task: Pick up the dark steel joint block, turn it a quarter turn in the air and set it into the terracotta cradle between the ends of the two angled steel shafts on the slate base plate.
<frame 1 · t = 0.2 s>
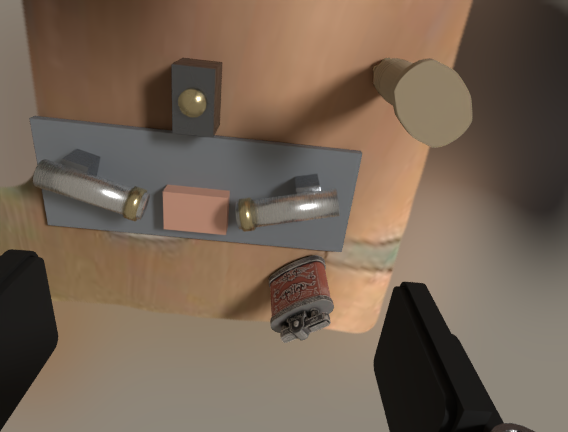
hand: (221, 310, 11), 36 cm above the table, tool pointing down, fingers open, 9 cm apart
base plate: (200, 187, 48), on the table
lighter: (296, 270, 54), on the table
handle: (385, 73, 43), on the table
shaft b: (286, 190, 49), resting on base plate
shaft a: (111, 172, 47), resting on base plate
joint block: (202, 92, 43), on the table
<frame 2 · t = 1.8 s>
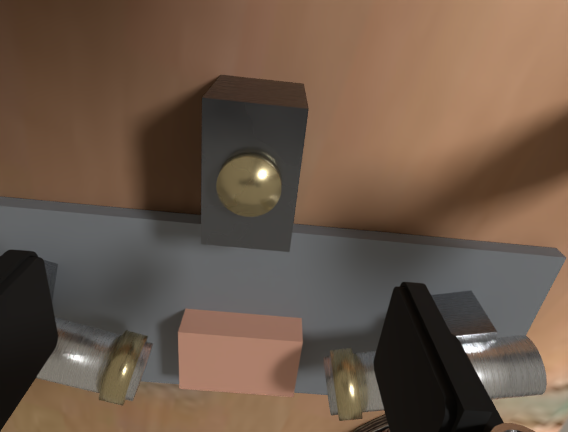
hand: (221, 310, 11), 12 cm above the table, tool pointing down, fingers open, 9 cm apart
base plate: (244, 307, 26), on the table
lighter: (399, 421, 32), on the table
shaft b: (403, 311, 26), resting on base plate
shaft a: (82, 284, 26), resting on base plate
joint block: (257, 143, 21), on the table
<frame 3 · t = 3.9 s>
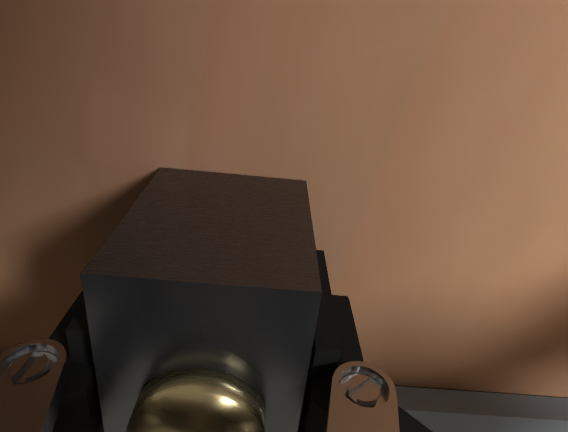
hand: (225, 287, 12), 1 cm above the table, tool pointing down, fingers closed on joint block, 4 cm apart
joint block: (229, 271, 13), on the table, touching gripper
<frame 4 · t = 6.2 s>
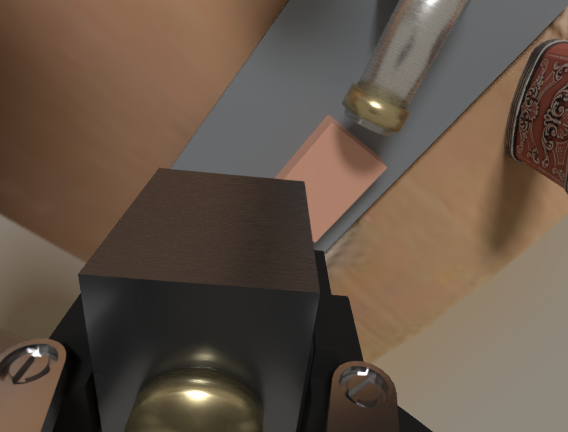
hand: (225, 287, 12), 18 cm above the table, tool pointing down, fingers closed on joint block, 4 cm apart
base plate: (297, 154, 29), on the table
lighter: (534, 102, 28), on the table
shaft b: (393, 21, 25), resting on base plate
joint block: (227, 272, 13), point 17 cm above the table, touching gripper
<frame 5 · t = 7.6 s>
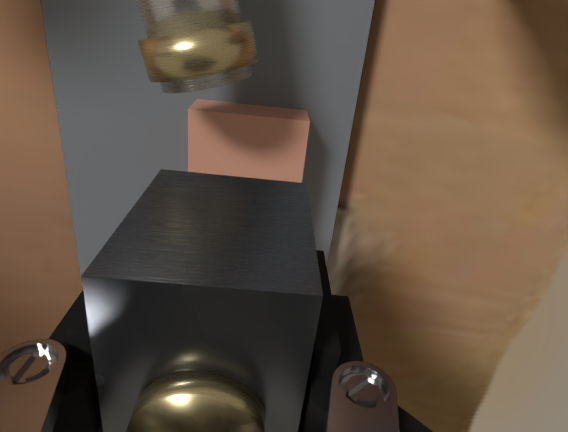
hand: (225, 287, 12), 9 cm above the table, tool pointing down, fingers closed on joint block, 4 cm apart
base plate: (208, 169, 20), on the table
joint block: (228, 273, 13), point 9 cm above the table, touching gripper
when the fingers open (5 cm above the table, at t = 8.8 s): joint block drops 1 cm, resting on base plate.
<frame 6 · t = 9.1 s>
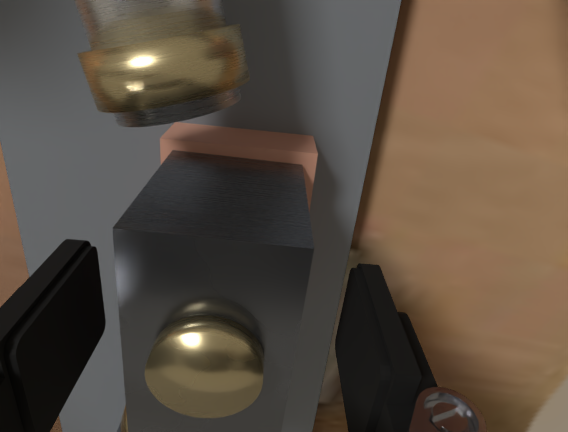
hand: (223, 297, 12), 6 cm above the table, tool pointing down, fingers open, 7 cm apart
base plate: (192, 204, 17), on the table
joint block: (231, 247, 14), point 3 cm above the table, touching base plate
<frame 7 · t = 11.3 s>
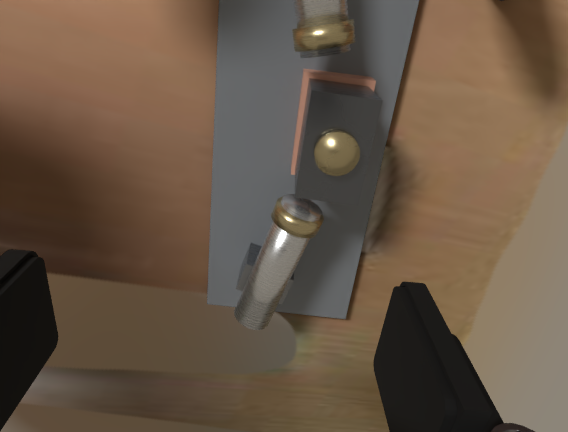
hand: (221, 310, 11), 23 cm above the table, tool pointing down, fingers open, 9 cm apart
base plate: (302, 117, 31), on the table
shaft a: (278, 233, 36), resting on base plate
joint block: (330, 130, 29), point 3 cm above the table, touching base plate
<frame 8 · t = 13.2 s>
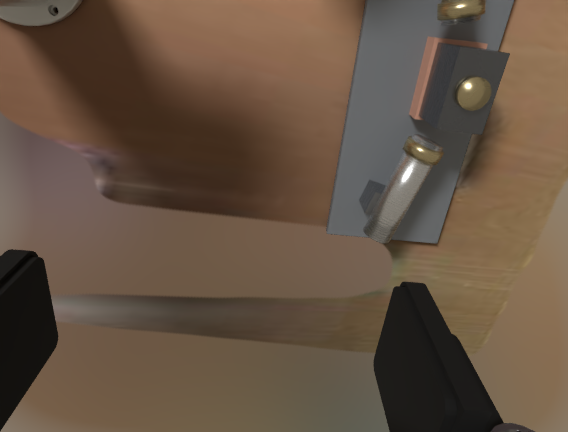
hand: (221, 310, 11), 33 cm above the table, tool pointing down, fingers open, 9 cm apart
base plate: (418, 75, 40), on the table
shaft a: (388, 172, 45), resting on base plate
joint block: (449, 83, 38), point 3 cm above the table, touching base plate
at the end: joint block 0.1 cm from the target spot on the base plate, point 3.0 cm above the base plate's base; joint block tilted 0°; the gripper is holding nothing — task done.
